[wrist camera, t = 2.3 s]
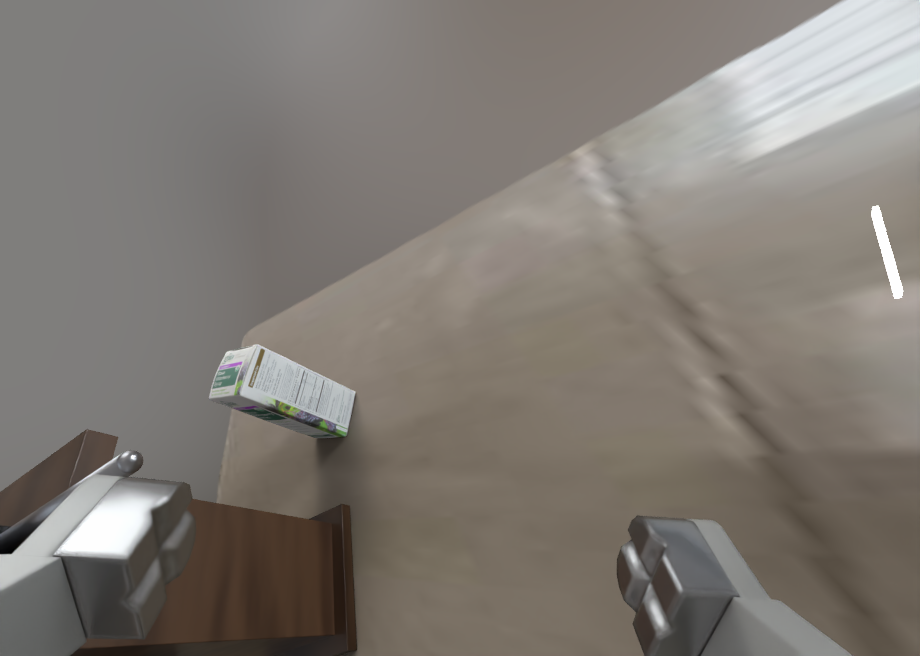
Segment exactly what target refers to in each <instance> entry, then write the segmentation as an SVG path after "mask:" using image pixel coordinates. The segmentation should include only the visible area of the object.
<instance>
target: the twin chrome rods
mask: <svg viewBox="0 0 920 656" xmlns="http://www.w3.org/2000/svg"><path fill="white" fill-rule="evenodd" d="M142 465H143V457H142V455H141V454H140V453H139V452H137V451H133V450H129V451H125V452H123V453H122V454H120V455H119V456H117V457H116V458H114V459H113V460H111V461H109V462H108V463H106V464H105V465H103V466H102V467H100V468H99V469H97V470H96V471H94V472H93V473H91V474H90V475H88V476H87V477H85V478H84V479H86V478H88V477H90V476H92V475H94V474H99V475H109V476H119V477H129V476H130V475H132V474H133V473H135V472H136V471H138V470H139V469H140V468H141V466H142ZM84 479H82V480H81V481H79V482H78V483H76V484H75V485H73V486H72V487H70V488H69V489H67V490H66V491H64V492H63V493H61V494H60V495H58V496H57V497H55V498H54V499H52V500H51V501H49V502H48V503H46V504H45V505H43V506H42V507H40V508H39V509H37V510H36V511H34V512H33V513H31V514H30V515H28V516H27V517H25V518H24V519H22V520H21V521H19V522H18V523H16V524H15V525H13V526H12V527H11V526H1V525H0V554H12V553H13V552H14V549H15V548H16V547H17V546H19V545H20V544H22V543H23V542H24V541H25V540H26V539H27V538H28V537H29V536H30V535H31V534H32V533H33V532H34V531H35V530H36V529H37V528H38V527H39V526H40V524H41V523H42V522H43V521H44V520H45V519H46V518H47V517H48V516H49V515H50V514H51V513H52V512H53V511H54V510H55V509H56V508H57V507H58V506H59V505H60V504H61V503H62V502H63V501H64V500H65V499H66V498H67V497H68V496H69V495H70V494H71V493H72V492H73V490H74V489H75V488H76V487H77V486H78V485H79V484H80V483H81V482H82V481H83V480H84Z"/></svg>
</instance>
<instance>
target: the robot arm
mask: <svg viewBox="0 0 920 656" xmlns="http://www.w3.org/2000/svg"><path fill="white" fill-rule="evenodd" d="M872 219H873V222H874V226H875V230H876V233H877V237H878V240H879V244H880V248H881V251H882V255H883V258H884V262H885V266H886V269H887V273H888V276H889V280H890V283H891V287H892V291H893V294H894V298H895V299H896V298H901V297H902V293H903V289H902V285H901V282H900V278H899V275H898V271H897V268H896V264H895V261H894V258H893V254H892V251H891V247H890V244H889V240H888V237H887V233H886V230H885V226H884V223H883V219H882V216H881V213H880V209H879V206H875V207H872ZM191 501H192V494H191V489H190V485H189V484H187V483H184V482H176V481H166V480H155V479H146V478H135V477H119V476H109V475H99V474H94V475H92V476H90V477H88V478H86V479H84V480H83V481H82V482H81V483H80V484H79V485H78V486H77V487H76V488H75V489H74V490H73V492H72V493H71V494H70V495H69V496H68V497H67V498H66V499H65V500H64V501H63V502H62V503H61V504H60V505H59V506H58V507H57V508H56V509H55V510H54V511H53V512H52V513H51V514H50V515H49V516H48V517H47V518H46V519H45V520H44V521H43V522H42V523H41V524H40V526H39V527H38V528H37V529H36V530H35V531H34V532H33V533H32V534H31V535H30V536H29V537H28V538H27V539H26V540H25V541H24V542H23V543H22V544H21V545H20V546H19V547H18V548H17V549H16V550H15V551H14V552H13V553H12V554H0V656H70V655H71V654H73V653H74V652H75V651H76V650H77V649H79V648H80V647H81V646H82V645H84V644H85V643H86V641H87V640H86V639H145V638H146V636H147V635H148V633H149V631H150V629H151V627H152V626H153V624H154V622H155V620H156V619H157V617H158V615H159V613H160V611H161V610H162V608H163V606H164V604H165V603H166V601H167V595H166V589H165V586H166V585H167V584H169V583H170V582H171V581H173V580H174V579H176V578H177V577H179V576H180V575H181V574H182V572H183V570H184V568H185V566H186V565H187V563H188V561H189V559H190V556H191V553H192V549H193V546H194V543H195V537H196V521H195V517H194V516H193V515H192V514H191V513H190V512H189V511H188V510H187V507H188V505H189V504H190V502H191ZM628 531H629V534H630V536H631V538H632V539H631V540H630V541H629V542H627V543H626V544H624V545H623V546H622V547H621V549H620V552H619V555H618V558H617V579H618V584H619V588H620V591H621V594H622V597H623V599H624V601H625V602H626V603H627V604H628V605H629V606H630V607H631V608H632V609H633V610H634V611H635V612H636V615H635V618H634V621H633V626H634V629H635V632H636V634H637V637H638V640H639V642H640V645H641V648H642V650H643V653H644V656H853V655H852V654H850V653H849V652H848V651H846V650H845V649H844V648H842V647H841V646H840V645H838V644H837V643H836V642H834V641H833V640H832V639H830V638H829V637H828V636H826V635H825V634H824V633H822V632H821V631H820V630H818V629H817V628H816V627H814V626H813V625H812V624H810V623H809V622H808V621H806V620H805V619H804V618H802V617H801V616H800V615H798V614H797V613H796V612H794V611H793V610H792V609H790V608H789V607H788V606H786V605H785V604H784V603H782V602H781V601H780V600H773V599H770V597H769V596H768V594H767V593H766V591H765V590H764V588H763V587H762V586H761V584H760V583H759V581H758V580H757V578H756V577H755V575H754V574H753V572H752V571H751V569H750V568H749V566H748V565H747V563H746V562H745V560H744V559H743V557H742V556H741V554H740V553H739V551H738V550H737V549H736V547H735V546H734V544H733V543H732V541H731V540H730V538H729V537H728V535H727V534H726V532H725V531H724V529H723V528H722V526H721V525H720V524H718V523H717V522H715V521H714V520H701V519H684V518H669V517H653V516H636V517H635V518H634V519H633V520H632V521H631V524H630V526H629V528H628Z"/></svg>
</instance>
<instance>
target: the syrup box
mask: <svg viewBox="0 0 920 656" xmlns="http://www.w3.org/2000/svg"><path fill="white" fill-rule="evenodd" d="M354 397H355V391H353V390H351V389H349V388H347V387H345V386H342V385H340V384H338V383H337V382H334V381H332V380H330V379H328V378H326V377H324V376H322V375H320V374H318V373H316V372H314V371H312V370H309V369H307V368H305V367H303V366H301V365H299V364H297V363H295V362H293V361H291V360H289V359H287V358H285V357H283V356H281V355H279V354H277V353H275V352H272V351H270V350H268V349H266V348H264V347H262V346H260V345H257V344H255V345H253V346H249V347H243V348H239V349H235V350H231V351H228V352H226V354H225V356H224V358H223V360H222V362H221V364H220V366H219V368H218V370H217V373H216V375H215V378H214V381H213V384H212V388H211V391H210V395H209V400H211V401H213V402H216V403H219V404H222V405H225V406H228V407H231V408H233V409H236V410H238V411H241V412H244V413H247V414H249V415H252V416H255V417H257V418H260V419H263V420H266V421H268V422H271V423H274V424H276V425H279V426H282V427H285V428H288V429H290V430H293V431H296V432H299V433H302V434H305V435H308V436H311V437H313V438H334V437H345V436H347V431H348V427H349V422H350V417H351V413H352V408H353V403H354Z"/></svg>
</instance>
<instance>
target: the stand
mask: <svg viewBox="0 0 920 656" xmlns="http://www.w3.org/2000/svg"><path fill="white" fill-rule="evenodd" d="M117 440H118V437H116V436H112V435H108V434H104V433H100V432H96V431H91V430H85V431H84V432H82V433H81V434H80V435H78V436H77V437H76V438H74V439H73V440H71V441H70V442H69V443H67V444H66V445H65V446H63V447H62V448H60V449H59V450H58V451H56V452H55V453H53V454H52V455H51V456H50V457H48V458H47V459H46V460H44V461H42V462H41V463H40V464H38V465H37V466H36V467H34V468H33V469H31V470H30V471H29V472H27V473H26V474H25V475H23V476H22V477H21V478H19V479H18V480H16V481H15V482H14V483H12V484H11V485H9V486H8V487H7V488H5V489H4V490H3V491H1V492H0V525H1V526H11V527H12V526H13V525H15V524H16V523H18V522H19V521H21V520H22V519H24V518H25V517H27V516H28V515H30V514H31V513H33V512H34V511H36V510H37V509H39V508H40V507H42V506H43V505H45V504H46V503H48V502H49V501H51V500H52V499H54V498H55V497H57V496H58V495H60V494H61V493H63V492H64V491H66V490H67V489H69V488H70V487H72V486H73V485H75V484H76V483H78V482H79V481H81V480H82V479H84V478H85V477H87V476H88V475H90V474H91V473H93V472H94V471H96V470H97V469H99V468H100V467H102V466H103V465H105V464H106V463H108V462H109V461H111V460H112V458H113V455H114V450H115V447H116V444H117ZM187 510H188V511H189V512H190V513H191V514H192V515H193V516H194V517H195V521H196V537H195V543H194V546H193V549H192V553H191V556H190V559H189V561H188V563H187V565H186V566H185V568H184V570H183V572H182V574H181V575H180V576H179V577H177V578H176V579H174V580H173V581H171V582H170V583H169V584H167V585H166V586H165V589H166V595H167V601H166V603H165V604H164V606H163V608H162V610H161V611H160V613H159V615H158V617H157V619H156V620H155V622H154V624H153V626H152V627H151V629H150V631H149V633H148V635H147V636H146V638H145V639H86V640H87V641H86V643H85V644H84V645H82V646H81V647H80V648H79V649H77V650H76V651H75V652H74V653H73V654H71V655H70V656H340V655H343V654H346V653H349V652H352V651H355V650H357V644H356V624H355V604H354V584H353V563H352V543H351V523H350V506H349V505H344V504H340V505H338V506H336V507H334V508H332V509H330V510H328V511H325V512H323V513H321V514H319V515H317V516H315V517H313V518H311V519H304V518H298V517H293V516H287V515H281V514H275V513H270V512H264V511H258V510H253V509H247V508H241V507H236V506H230V505H224V504H218V503H213V502H207V501H201V500H196V499H192V501H191V502H190V504H189V505H188V507H187ZM20 545H21V544H20ZM20 545H19V546H20ZM19 546H17V547H16V548H15V549H14V551H15V550H16V549H17V548H18V547H19Z"/></svg>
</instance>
